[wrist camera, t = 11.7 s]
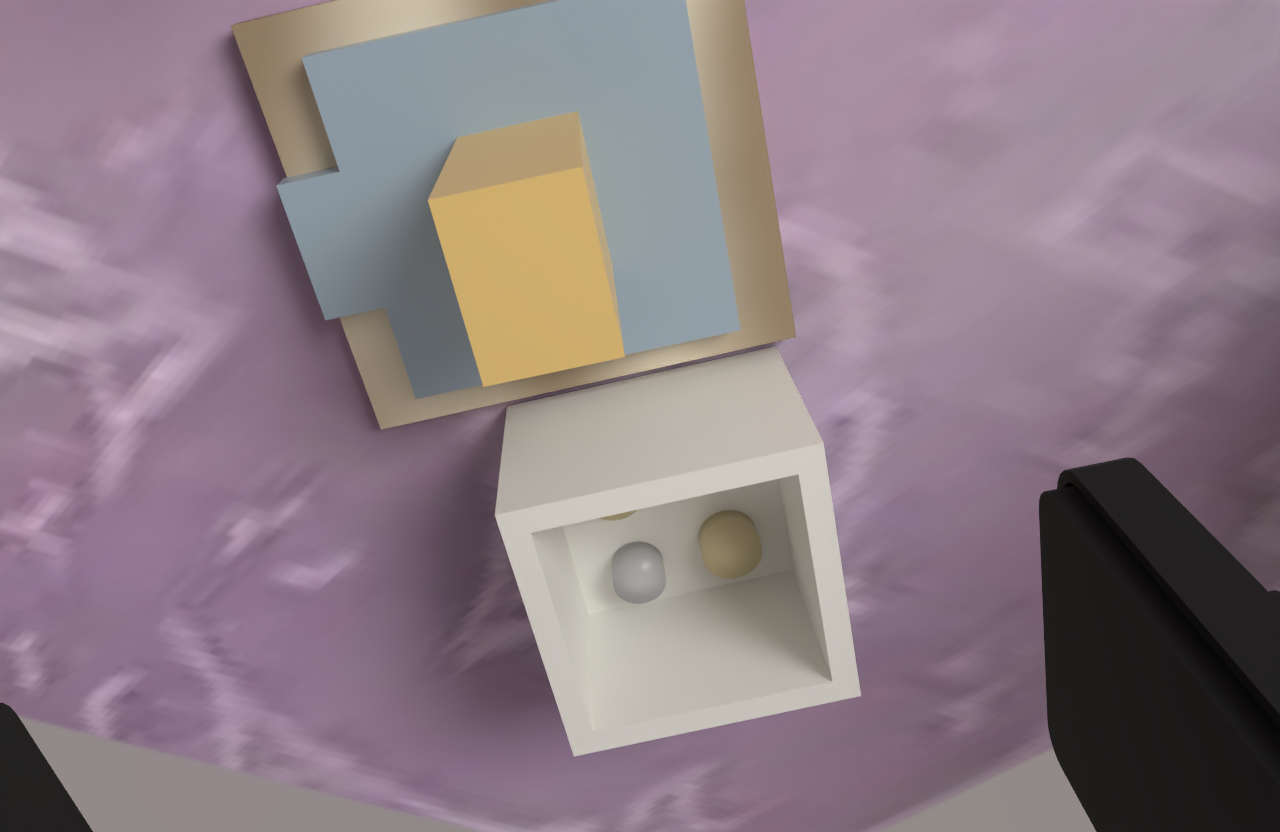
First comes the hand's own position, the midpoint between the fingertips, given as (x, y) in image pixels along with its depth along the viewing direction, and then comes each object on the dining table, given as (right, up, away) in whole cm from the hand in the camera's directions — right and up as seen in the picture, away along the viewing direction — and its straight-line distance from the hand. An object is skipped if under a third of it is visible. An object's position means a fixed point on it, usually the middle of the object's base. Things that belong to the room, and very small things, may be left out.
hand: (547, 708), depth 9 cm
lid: (-2, +8, +17) cm, 19 cm away
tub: (+2, 0, +22) cm, 22 cm away
